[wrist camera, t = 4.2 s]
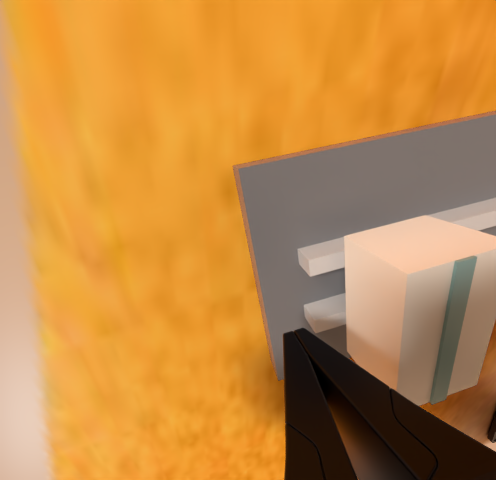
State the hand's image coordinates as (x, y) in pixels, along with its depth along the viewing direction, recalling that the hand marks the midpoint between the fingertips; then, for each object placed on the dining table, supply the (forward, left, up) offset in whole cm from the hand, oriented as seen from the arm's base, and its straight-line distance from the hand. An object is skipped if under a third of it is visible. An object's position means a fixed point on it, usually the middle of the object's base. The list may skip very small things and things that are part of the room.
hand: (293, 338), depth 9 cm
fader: (0, -5, -3) cm, 5 cm away
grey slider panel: (0, -10, -4) cm, 11 cm away
